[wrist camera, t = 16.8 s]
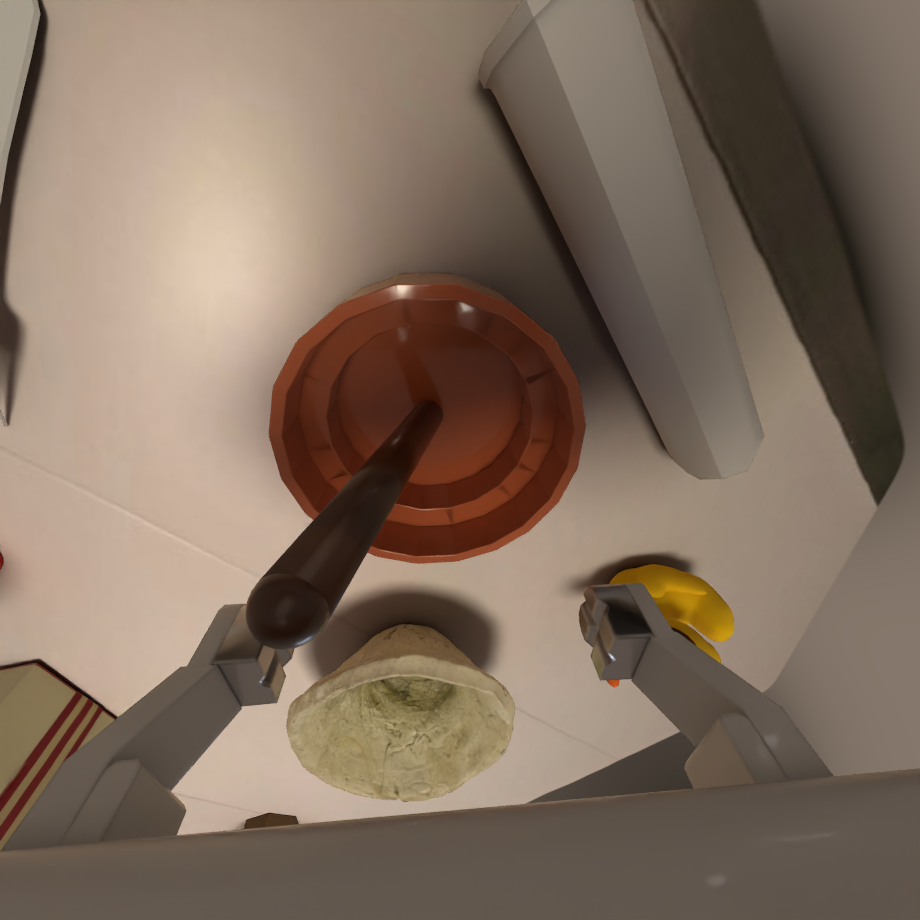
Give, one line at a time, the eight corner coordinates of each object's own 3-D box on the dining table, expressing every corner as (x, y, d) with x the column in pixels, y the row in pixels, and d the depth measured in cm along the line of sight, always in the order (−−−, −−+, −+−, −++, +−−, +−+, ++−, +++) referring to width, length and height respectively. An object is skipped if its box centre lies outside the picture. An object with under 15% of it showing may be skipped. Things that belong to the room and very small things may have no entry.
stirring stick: (445, 397, 23) (301, 608, 7) (445, 425, 23) (315, 673, 8) (416, 396, 23) (215, 600, 7) (417, 424, 24) (237, 664, 8)
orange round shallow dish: (566, 272, 20) (614, 283, 15) (536, 498, 28) (560, 556, 23) (278, 272, 19) (224, 284, 14) (329, 506, 27) (306, 569, 22)
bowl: (384, 652, 43) (251, 725, 32) (471, 565, 35) (334, 620, 24) (448, 782, 37) (314, 927, 26) (572, 713, 29) (453, 881, 18)
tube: (795, 450, 23) (650, -120, 11) (732, 509, 22) (519, -8, 11) (712, 428, 27) (551, 13, 16) (660, 477, 27) (459, 93, 16)
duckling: (564, 603, 34) (610, 723, 26) (569, 561, 32) (622, 680, 23) (685, 589, 35) (769, 704, 26) (699, 547, 32) (799, 660, 23)
